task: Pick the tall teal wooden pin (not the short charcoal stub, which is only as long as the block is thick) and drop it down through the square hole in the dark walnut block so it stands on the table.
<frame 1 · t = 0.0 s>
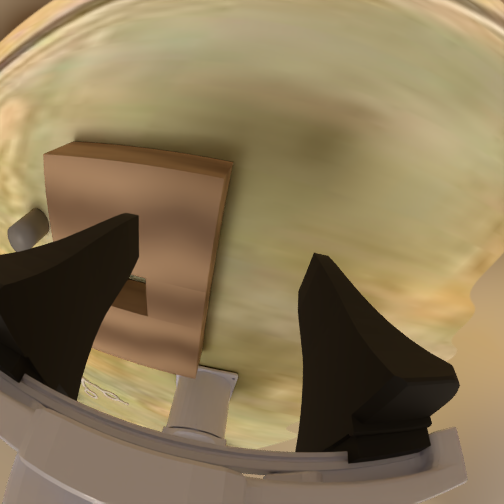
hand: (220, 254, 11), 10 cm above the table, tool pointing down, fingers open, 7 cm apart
charcoal stub: (39, 221, 22), on the table
walnut hole block: (140, 264, 24), on the table
scissors: (80, 372, 41), on the table
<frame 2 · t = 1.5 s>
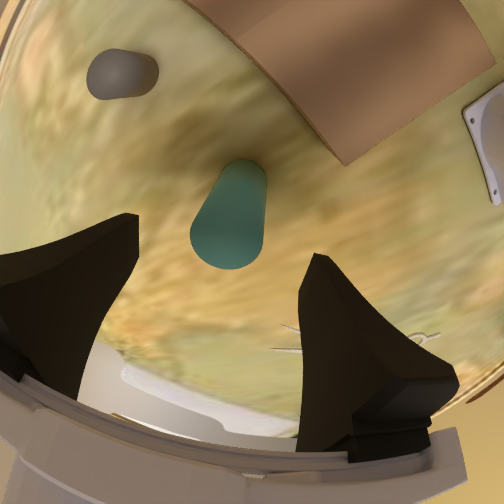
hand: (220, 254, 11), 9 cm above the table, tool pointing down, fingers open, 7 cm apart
charcoal stub: (137, 75, 15), on the table
teal pin: (243, 181, 19), on the table
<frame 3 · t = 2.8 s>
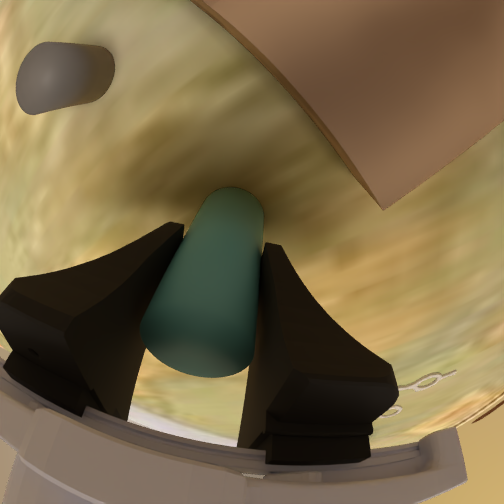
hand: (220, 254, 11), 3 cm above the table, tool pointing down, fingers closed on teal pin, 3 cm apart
charcoal stub: (89, 74, 10), on the table
teal pin: (231, 217, 14), on the table, touching gripper
scissors: (362, 390, 24), on the table
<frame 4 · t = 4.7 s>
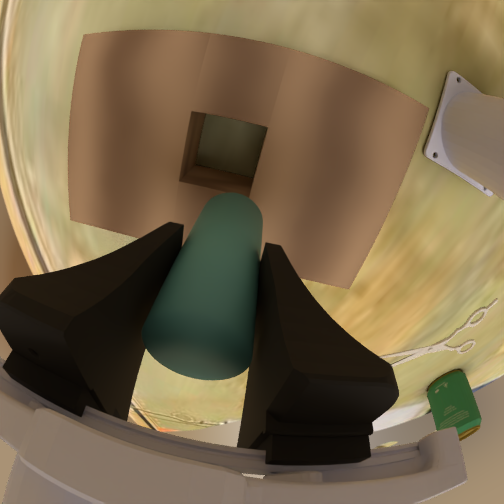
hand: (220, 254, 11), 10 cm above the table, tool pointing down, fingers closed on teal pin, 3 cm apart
beverage can: (444, 380, 35), on the table
teal pin: (231, 222, 14), point 7 cm above the table, touching gripper
walnut hole block: (230, 142, 18), on the table
scissors: (433, 342, 30), on the table
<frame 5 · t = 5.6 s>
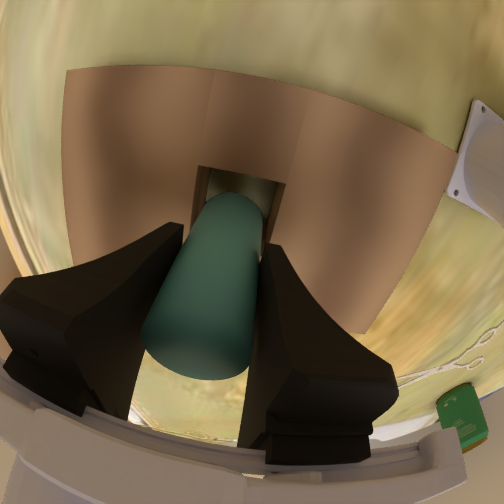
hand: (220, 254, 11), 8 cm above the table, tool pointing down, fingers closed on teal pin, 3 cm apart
beverage can: (453, 393, 34), on the table
teal pin: (231, 221, 14), point 4 cm above the table, touching gripper
walnut hole block: (241, 188, 17), on the table
scissors: (443, 362, 28), on the table
when the fingers open (5 cm above the table, at t = 6.5 s): teal pin drops 2 cm, resting in walnut hole block.
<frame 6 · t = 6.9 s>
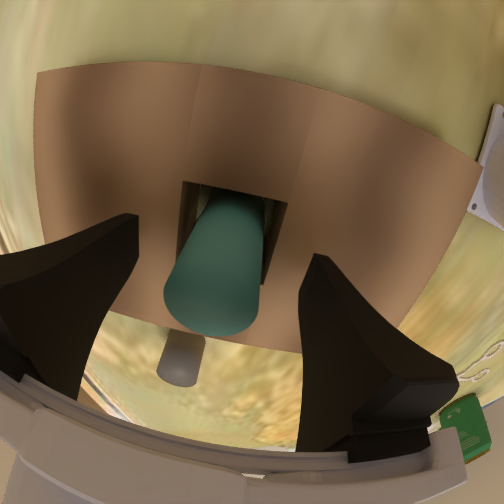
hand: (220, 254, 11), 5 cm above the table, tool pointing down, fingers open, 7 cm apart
beverage can: (457, 404, 31), on the table
charcoal stub: (187, 338, 22), on the table
teal pin: (237, 207, 16), resting in walnut hole block
walnut hole block: (236, 202, 15), on the table
scissors: (448, 376, 26), on the table
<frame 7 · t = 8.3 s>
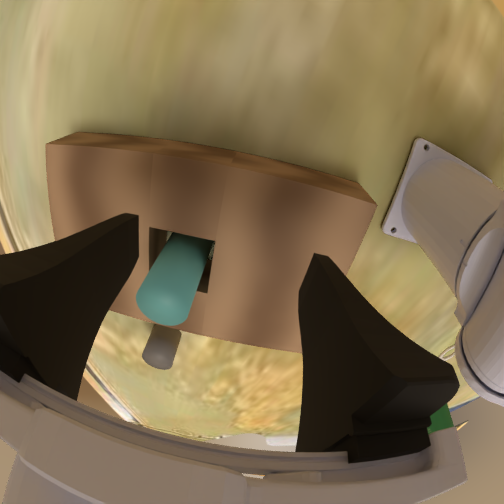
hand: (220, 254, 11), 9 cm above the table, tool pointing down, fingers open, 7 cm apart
beverage can: (424, 402, 37), on the table
charcoal stub: (167, 331, 28), on the table
teal pin: (194, 236, 21), resting in walnut hole block
walnut hole block: (193, 233, 21), on the table
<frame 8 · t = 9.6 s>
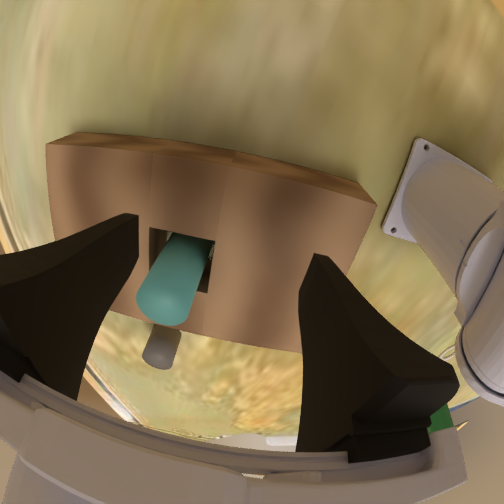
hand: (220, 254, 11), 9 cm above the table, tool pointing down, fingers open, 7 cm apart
beverage can: (425, 402, 37), on the table
charcoal stub: (167, 332, 28), on the table
teal pin: (194, 236, 21), resting in walnut hole block
walnut hole block: (193, 233, 21), on the table
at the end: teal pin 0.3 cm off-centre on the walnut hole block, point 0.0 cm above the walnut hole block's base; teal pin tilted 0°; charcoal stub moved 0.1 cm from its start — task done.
